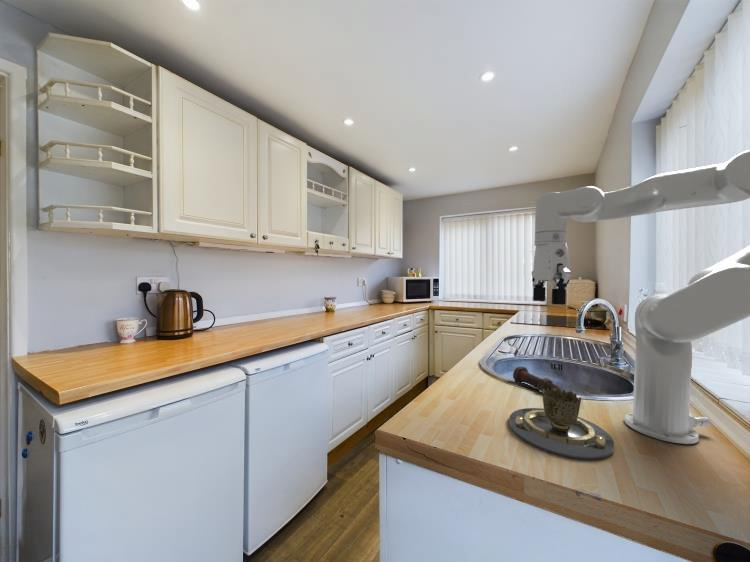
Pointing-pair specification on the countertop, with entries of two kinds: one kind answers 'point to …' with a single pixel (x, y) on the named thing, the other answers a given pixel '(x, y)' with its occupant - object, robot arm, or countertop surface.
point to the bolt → (533, 379)
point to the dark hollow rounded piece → (561, 408)
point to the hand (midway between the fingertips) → (548, 302)
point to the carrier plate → (561, 436)
